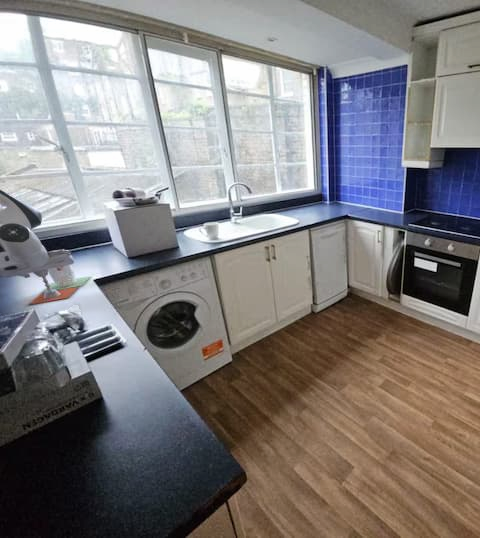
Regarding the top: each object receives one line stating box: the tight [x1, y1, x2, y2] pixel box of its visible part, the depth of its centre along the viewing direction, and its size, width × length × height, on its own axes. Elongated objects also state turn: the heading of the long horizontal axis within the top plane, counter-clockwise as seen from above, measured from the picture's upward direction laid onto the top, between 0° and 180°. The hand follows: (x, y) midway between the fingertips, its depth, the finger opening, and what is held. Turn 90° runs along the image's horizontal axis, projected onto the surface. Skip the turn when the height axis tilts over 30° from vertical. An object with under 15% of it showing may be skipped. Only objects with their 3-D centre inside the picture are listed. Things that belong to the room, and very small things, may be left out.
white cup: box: [48, 264, 77, 287], centre depth 131 cm, size 8×8×10 cm
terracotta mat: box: [28, 287, 79, 306], centre depth 123 cm, size 12×11×1 cm
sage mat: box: [42, 276, 90, 293], centre depth 133 cm, size 13×11×1 cm
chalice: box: [32, 269, 61, 298], centre depth 119 cm, size 7×7×18 cm
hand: (44, 272), depth 119 cm, fingers open, 8 cm apart
